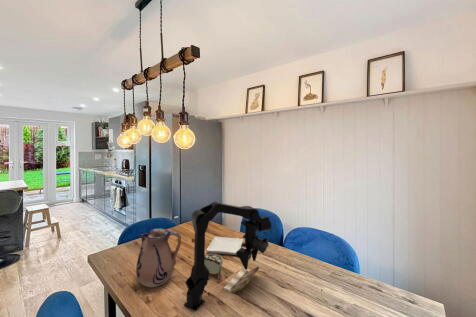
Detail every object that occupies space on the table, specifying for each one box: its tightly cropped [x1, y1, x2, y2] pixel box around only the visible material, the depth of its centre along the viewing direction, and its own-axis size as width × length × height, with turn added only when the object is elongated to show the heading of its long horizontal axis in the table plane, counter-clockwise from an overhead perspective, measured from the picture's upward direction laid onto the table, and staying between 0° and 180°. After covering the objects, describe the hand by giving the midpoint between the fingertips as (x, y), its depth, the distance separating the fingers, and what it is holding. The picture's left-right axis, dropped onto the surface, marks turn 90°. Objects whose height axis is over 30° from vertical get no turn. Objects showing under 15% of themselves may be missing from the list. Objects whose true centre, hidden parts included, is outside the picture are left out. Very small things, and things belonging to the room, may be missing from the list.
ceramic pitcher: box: [135, 227, 182, 288], centre depth 108 cm, size 18×21×25 cm
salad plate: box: [206, 236, 244, 256], centre depth 145 cm, size 21×21×3 cm
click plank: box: [231, 266, 260, 294], centre depth 106 cm, size 18×7×1 cm
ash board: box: [223, 268, 249, 293], centre depth 109 cm, size 18×4×1 cm, turn 151°
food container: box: [204, 253, 224, 281], centre depth 114 cm, size 12×6×10 cm, turn 59°
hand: (250, 264), depth 105 cm, fingers open, 9 cm apart
